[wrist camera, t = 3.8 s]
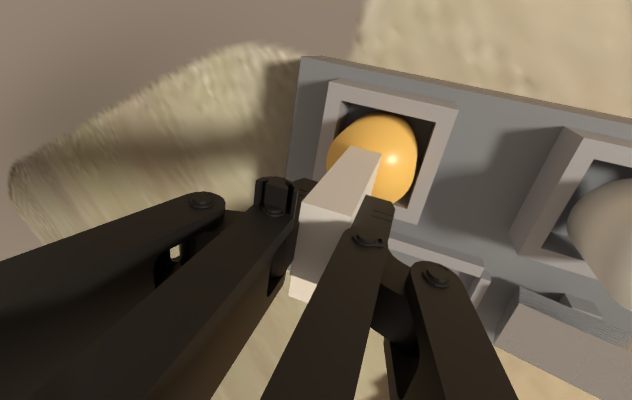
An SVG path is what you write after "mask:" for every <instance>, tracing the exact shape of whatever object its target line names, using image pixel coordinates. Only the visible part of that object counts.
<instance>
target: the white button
mask: <svg viewBox="0 0 632 400" xmlns="http://www.w3.org/2000/svg"><path fill="white" fill-rule="evenodd" d="M567 232H568V235H569V238H570V240H571V242H572V243H573V245H574V246H575V247H576V249H577V250H578V252H579V253H580V254H581V256H582V257H583V259H584V260H585V261H586V263H587V264H588V266H589V267H590V268H591V270H592V271H593V273H594V274H595V275H596V277H597V278H598V280H599V281H600V282H601V284H602V285H603V287H604V288H605V289H606V291H607V292H608V294H609V295H610V296H611V297H612V298H613V300H614V301H616V302H617V303H618V304H619V305H621V306H622V307H624V308H625V309H627V310H629V311H631V312H632V178H628V179H621V180H616V181H612V182H609V183H606V184H603V185H601V186H598V187H596V188H595V189H593V190H591V191H590V192H588V193H587V194H585V195H584V196H583V197H582V198H580V199H579V201H578V202H577V203H576V204H575V205H574V207H573V208H572V210H571V212H570V214H569V217H568V220H567Z"/></svg>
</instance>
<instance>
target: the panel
mask: <svg viewBox="0 0 632 400" xmlns="http://www.w3.org/2000/svg"><path fill="white" fill-rule="evenodd" d="M375 110H384V111H389V112H393V113H397V114H400V115H401V116H403V117H404V118H406V119H407V120H408V121H409V122H410V123H411V125H412V126H413V127H414V129H415V131H416V134H417V137H418V142H419V149H418V156H417V162H416V168H415V174H414V178H413V181H412V184H411V186H410V188H409V189H408V191H407V192H406V193H405V195H404V196H403V197H401V198H400V199H399V200H398V201H396V202H395V203H393V206H394V207H395V213H394V218H393V222H392V226H391V231H390V235H389V240H388V248H389V251H390V252H391V253H392V255H393V256H394V257H395V258H397V259H398V260H399V261H401V262H402V263H404V264H406V265H408V266H409V267H411V266H412V265H413V264H414V263H415V262H419V261H431V262H435V263H439V264H441V265H443V266H445V267H447V268H449V269H450V270H451V271H453V272H454V273H455V274H456V275H457V276H458V277H459V278H460V280H461V281H462V283H463V285H464V287H465V289H466V291H467V293H468V295H469V297H470V299H471V301H472V303H473V306H474V308H475V310H476V312H477V314H478V316H479V318H480V320H481V322H482V324H483V326H484V329H485V331H486V333H487V335H488V337H489V339H490V341H491V343H492V344H494V333H495V326H496V324H497V323H498V321H499V319H500V318H501V316H502V314H503V313H504V311H505V309H506V308H507V306H508V304H509V303H510V301H511V299H512V298H513V296H514V294H515V293H516V291H517V289H518V288H519V286H521V287H523V288H525V289H528V290H530V291H532V292H535V293H537V294H539V295H542V296H544V297H546V298H549V299H551V300H553V301H556V302H558V303H561V304H563V305H565V306H568V307H570V308H572V309H575V310H577V311H579V312H582V313H584V314H586V315H589V316H591V317H593V318H596V319H598V320H600V321H603V322H605V323H607V324H610V325H612V326H615V327H617V328H619V329H622V330H624V331H626V332H629V333H631V334H632V312H631V311H629V310H627V309H625V308H624V307H622V306H621V305H619V304H618V303H617V302H616V301H614V300H613V298H612V297H611V296H610V295H609V294H608V292H607V291H606V289H605V288H604V287H603V285H602V284H601V282H600V281H599V280H598V278H597V277H596V275H595V274H594V273H593V271H592V270H591V268H590V267H589V266H588V264H587V263H586V261H585V260H584V259H583V257H582V256H581V254H580V253H579V252H578V250H577V249H576V247H575V246H574V245H573V243H572V242H571V240H570V238H569V235H568V232H567V220H568V217H569V214H570V212H571V210H572V208H573V207H574V205H575V204H576V203H577V202H578V201H579V199H580V198H582V197H583V196H584V195H585V194H587V193H588V192H590V191H591V190H593V189H595V188H596V187H598V186H601V185H603V184H606V183H609V182H612V181H616V180H621V179H628V178H632V119H630V118H625V117H620V116H615V115H611V114H606V113H601V112H596V111H591V110H586V109H581V108H576V107H571V106H566V105H561V104H557V103H552V102H547V101H542V100H537V99H532V98H527V97H522V96H517V95H512V94H507V93H502V92H498V91H493V90H488V89H483V88H478V87H473V86H468V85H463V84H458V83H453V82H448V81H443V80H439V79H434V78H429V77H424V76H419V75H414V74H409V73H404V72H399V71H394V70H389V69H384V68H380V67H375V66H370V65H365V64H360V63H355V62H350V61H345V60H340V59H335V58H330V57H325V56H301V61H300V69H299V77H298V84H297V92H296V100H295V107H294V115H293V123H292V130H291V138H290V146H289V153H288V161H287V169H286V176H285V179H287V180H290V181H292V182H294V181H295V180H298V179H302V178H307V179H310V180H314V181H317V182H319V181H320V180H321V179H322V178H323V177H324V176H325V174H326V173H327V169H326V159H327V154H328V151H329V148H330V146H331V144H332V142H333V141H334V140H335V138H336V137H337V136H338V135H339V134H340V133H341V132H343V131H344V130H345V129H346V128H347V127H348V126H349V125H351V124H352V123H353V122H354V121H355V120H356V119H358V118H359V117H360V116H362V115H364V114H365V113H368V112H370V111H375ZM290 269H291V264H290V266H289V267H288V269H287V270H290Z"/></svg>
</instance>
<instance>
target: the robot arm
mask: <svg viewBox="0 0 632 400" xmlns="http://www.w3.org/2000/svg"><path fill="white" fill-rule="evenodd" d="M381 156H382V154H381V153H377V152H373V151H370V150H366V149H362V148H358V147H354V146H350V147H349V148H348V149H347V150H346V151H345V153H344V154H343V155H342V156H341V157H340V158H339V159H338V161H337V162H336V163H335V164H334V165H333V166H332V168H331V169H330V170H329V171H328V172H327V173H326V174H325V176H324V177H323V178H322V179H321V180H320V181H319V182H317V181H314V180H310V179H307V178H302V179H298V180H295V181H294V182H292V181H290V180H287V179H285V178H280V177H263V178H260V179H257V180H256V184H255V195H254V205H253V206H251V207H250V208H249V209H248V210H247V211H246V212H240V211H232V210H225V201H224V199H223V198H222V197H221V196H219V195H217V194H214V193H211V192H204V191H203V192H194V193H190V194H186V195H183V196H181V197H178V198H175V199H172V200H169V201H167V202H164V203H161V204H158V205H156V206H153V207H150V208H147V209H144V210H142V211H139V212H136V213H133V214H131V215H128V216H125V217H122V218H119V219H117V220H114V221H111V222H108V223H106V224H103V225H100V226H97V227H95V228H92V229H89V230H86V231H83V232H81V233H78V234H75V235H72V236H70V237H67V238H64V239H61V240H58V241H56V242H53V243H50V244H47V245H45V246H42V247H39V248H36V249H34V250H31V251H28V252H25V253H22V254H20V255H17V256H14V257H12V258H9V259H6V260H3V261H0V400H210V399H211V397H212V396H213V394H214V393H215V391H216V390H217V388H218V386H219V385H220V383H221V382H222V380H223V379H224V377H225V375H226V374H227V372H228V371H229V369H230V368H231V366H232V364H233V363H234V361H235V360H236V358H237V356H238V355H239V353H240V352H241V350H242V349H243V347H244V345H245V344H246V342H247V341H248V339H249V338H250V336H251V334H252V333H253V331H254V330H255V328H256V327H257V325H258V323H259V322H260V320H261V319H262V317H263V316H264V314H265V312H266V311H267V309H268V308H269V306H270V304H271V303H272V301H273V300H274V298H275V297H276V295H277V293H278V292H279V290H280V289H281V287H282V286H283V283H284V280H285V274H286V270H287V269H288V267H289V266H290V264H291V269H290V275H292V276H295V277H298V278H301V279H303V280H306V281H309V282H312V283H315V284H317V286H316V288H315V290H314V292H313V294H312V296H311V298H310V300H309V302H308V304H307V306H306V308H305V310H304V312H303V314H302V316H301V318H300V320H299V322H298V324H297V326H296V328H295V330H294V332H293V334H292V336H291V338H290V340H289V342H288V344H287V346H286V348H285V350H284V352H283V354H282V356H281V358H280V361H279V363H278V365H277V367H276V369H275V371H274V373H273V375H272V377H271V379H270V381H269V383H268V385H267V387H266V389H265V391H264V393H263V395H262V397H261V399H260V400H354V396H355V392H356V387H357V383H358V378H359V374H360V370H361V365H362V361H363V356H364V352H365V348H366V343H367V339H368V334H369V330H370V327H371V328H372V329H373V330H375V331H376V332H378V333H379V334H381V335H382V336H384V343H383V344H384V352H385V360H386V368H387V376H388V384H389V392H390V400H519V399H518V397H517V395H516V393H515V391H514V389H513V387H512V385H511V383H510V381H509V379H508V377H507V374H506V372H505V370H504V368H503V366H502V364H501V362H500V360H499V358H498V356H497V354H496V351H495V349H494V347H493V345H492V343H491V341H490V339H489V337H488V335H487V333H486V331H485V329H484V326H483V324H482V322H481V320H480V318H479V316H478V314H477V312H476V310H475V308H474V306H473V303H472V301H471V299H470V297H469V295H468V293H467V291H466V289H465V287H464V285H463V283H462V281H461V280H460V278H459V277H458V276H457V275H456V274H455V273H454V272H453V271H451V270H450V269H449V268H447V267H445V266H443V265H441V264H439V263H435V262H431V261H419V262H415V263H414V264H413V265H412V266H411V267H409V266H408V265H406V264H404V263H402V262H401V261H399V260H398V259H397V258H395V257H394V256H393V255H392V253H391V252H390V251H389V248H388V240H389V235H390V231H391V226H392V222H393V218H394V213H395V207H394V206H393V204H392V202H390V201H387V200H383V199H380V198H377V197H373V196H371V193H372V189H373V185H374V182H375V178H376V174H377V171H378V167H379V163H380V160H381ZM177 245H179V249H180V256H178V257H176V258H173V259H171V257H170V249H171V248H173V247H175V246H177Z"/></svg>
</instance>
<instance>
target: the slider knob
mask: <svg viewBox="0 0 632 400" xmlns="http://www.w3.org/2000/svg"><path fill="white" fill-rule="evenodd" d="M316 286H317V284H315V283H312V282H309V281H306V280H303V279H301V278H298V277H295V276H292V277H291V283H290V289H289V295H288V296H290V297H293V298H296V299H298V300H301V301H303V302H306V303H308V302H309V300H310V298H311V296H312V294H313V292H314V290H315V288H316Z"/></svg>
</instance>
